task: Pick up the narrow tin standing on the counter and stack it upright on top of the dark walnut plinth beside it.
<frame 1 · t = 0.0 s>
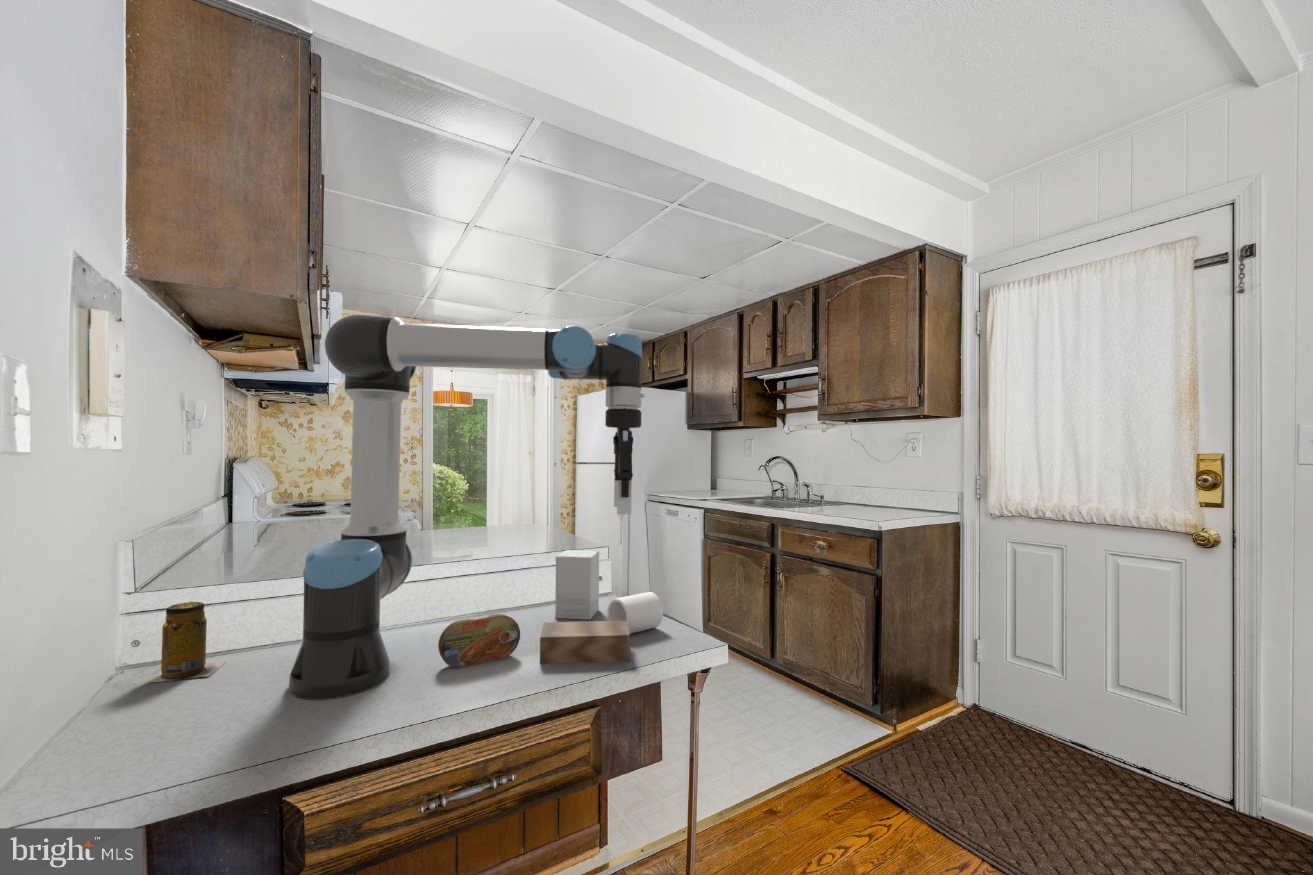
hand: (622, 510, 117), 28 cm above the worktop, tool pointing down, fingers open, 13 cm apart
condiment: (189, 673, 99), on the worktop
supplement box: (577, 614, 137), on the worktop
plinth: (585, 653, 111), on the worktop
mug: (629, 629, 127), on the worktop
tin: (479, 662, 106), on the worktop
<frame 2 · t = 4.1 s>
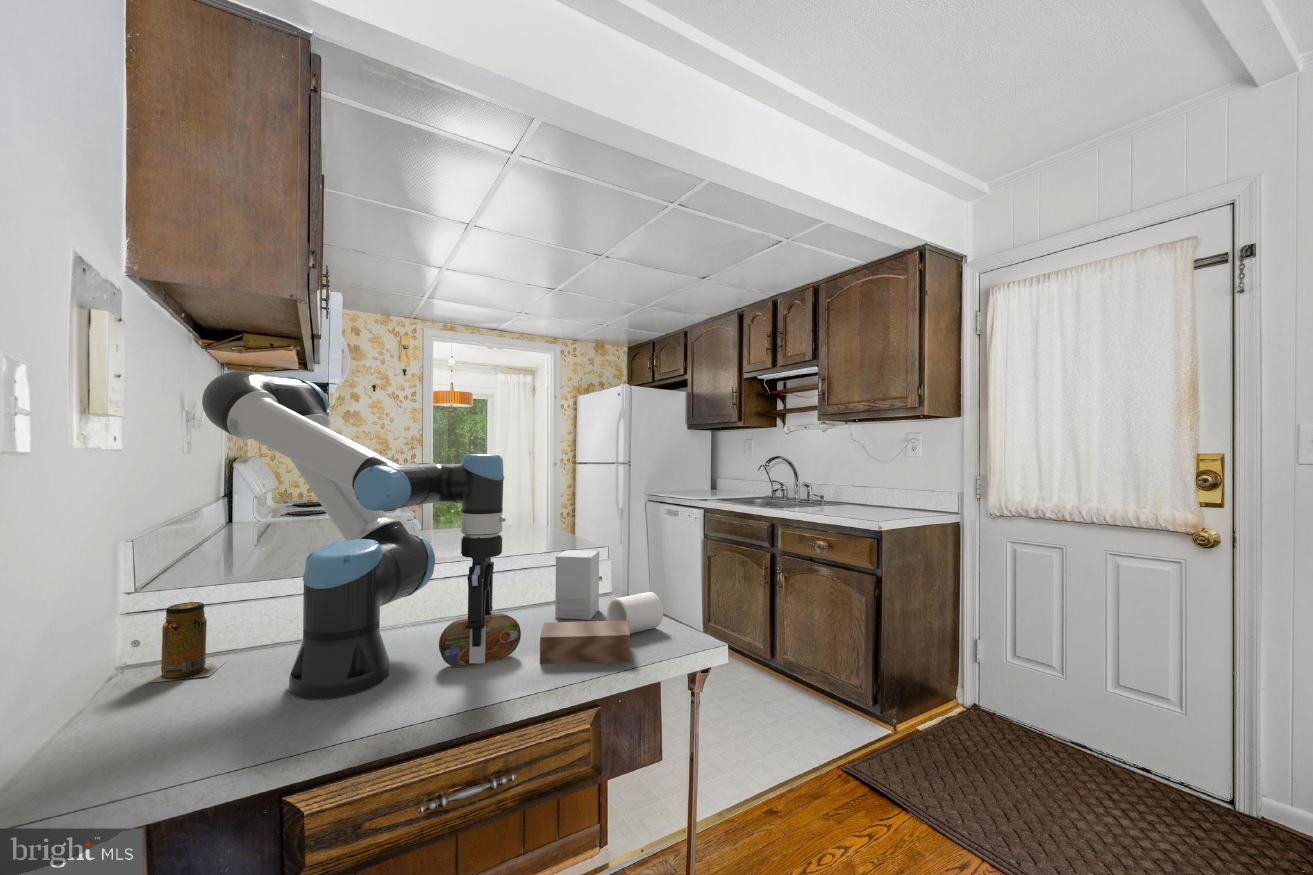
hand: (479, 657, 106), 1 cm above the worktop, tool pointing down, fingers closed on tin, 4 cm apart
tin: (479, 661, 106), on the worktop, touching gripper
everything else where it was.
when the fingers open (6 cm above the worktop, at t = 9.8 s): tin stays where it is, resting on plinth.
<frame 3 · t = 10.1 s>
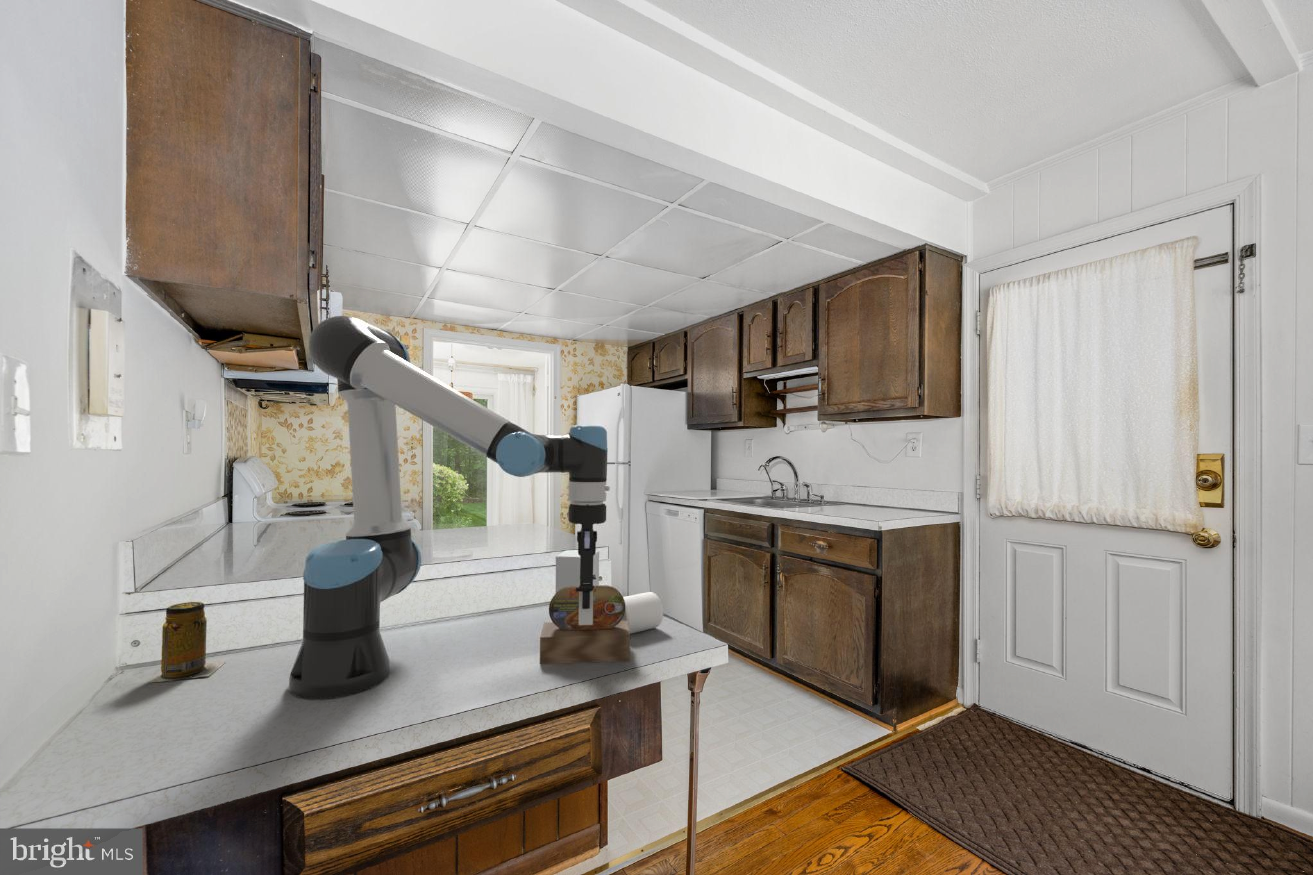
hand: (585, 618, 111), 7 cm above the worktop, tool pointing down, fingers open, 7 cm apart
tin: (587, 628, 111), point 5 cm above the worktop, touching plinth
everything else where it was.
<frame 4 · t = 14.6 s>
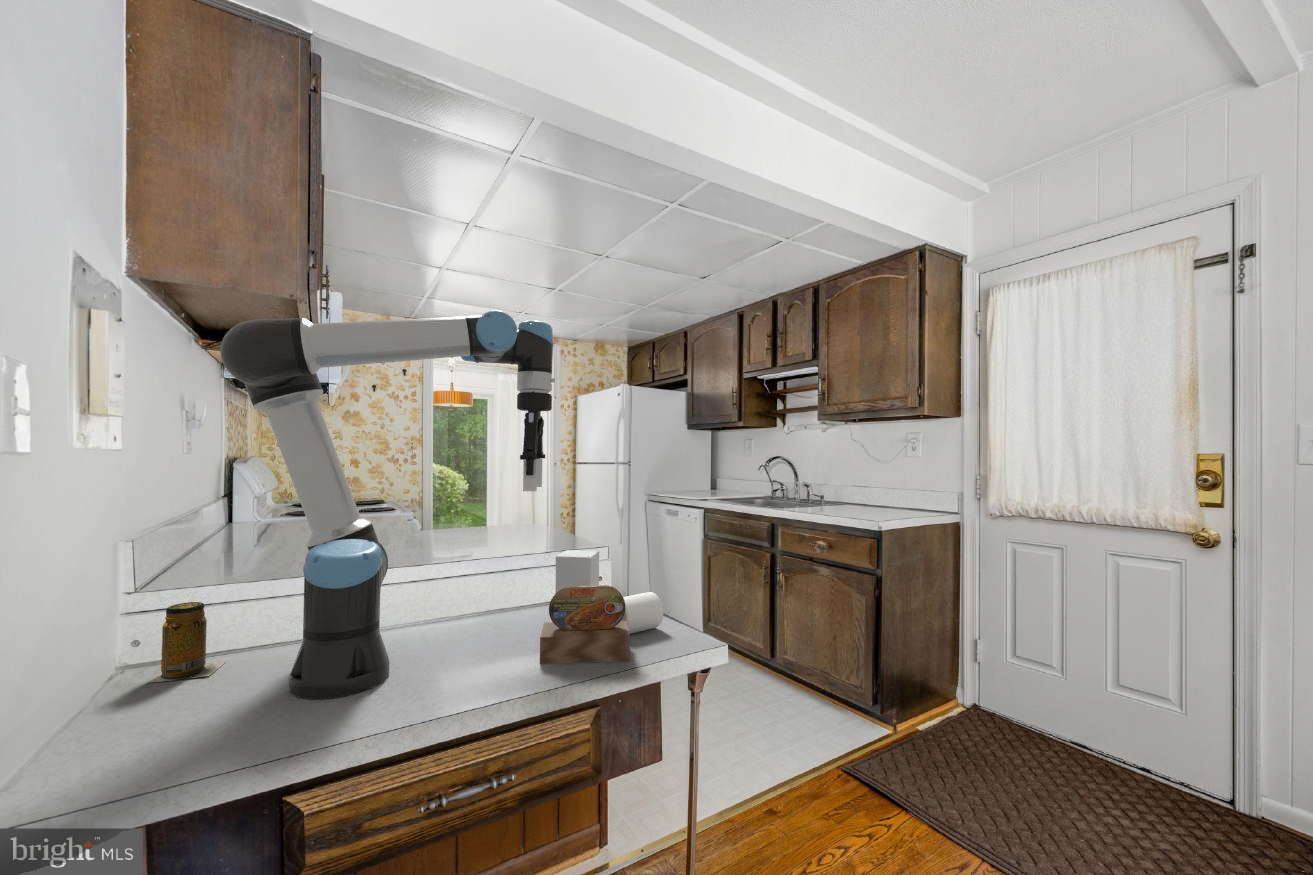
hand: (532, 489, 123), 32 cm above the worktop, tool pointing down, fingers open, 13 cm apart
nothing on the worktop moved.
at the end: tin inside the target area on the plinth (0.4 cm from its centre), point 4.8 cm above the plinth's base; tin tilted 0°; the gripper is holding nothing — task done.
